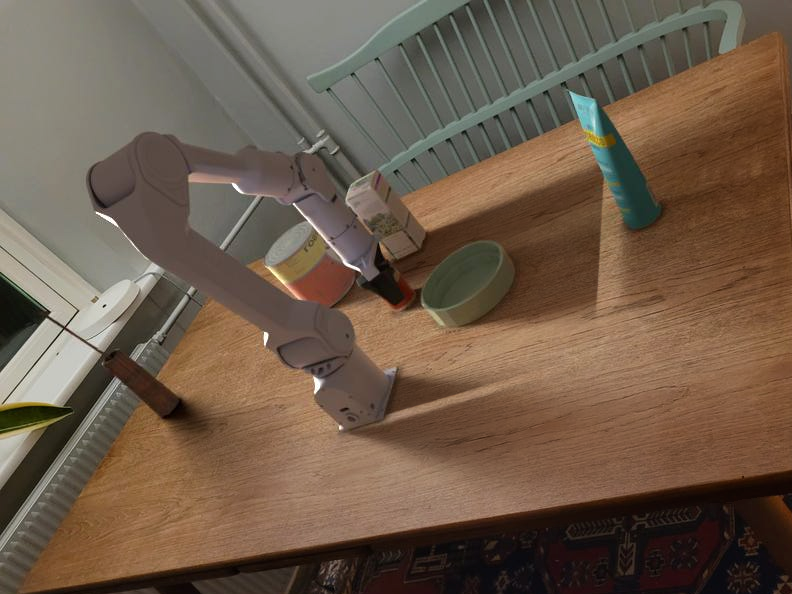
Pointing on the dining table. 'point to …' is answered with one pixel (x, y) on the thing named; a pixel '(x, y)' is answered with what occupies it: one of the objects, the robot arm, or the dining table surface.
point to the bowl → (468, 283)
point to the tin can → (406, 291)
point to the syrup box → (385, 214)
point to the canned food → (309, 266)
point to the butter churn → (134, 378)
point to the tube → (617, 165)
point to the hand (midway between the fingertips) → (394, 291)
